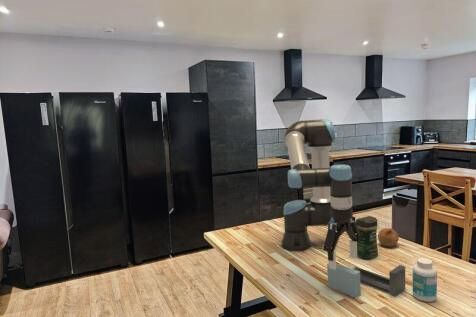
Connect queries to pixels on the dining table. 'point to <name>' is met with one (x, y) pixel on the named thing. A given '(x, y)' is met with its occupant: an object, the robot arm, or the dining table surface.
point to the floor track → (384, 280)
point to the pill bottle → (424, 280)
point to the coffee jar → (367, 237)
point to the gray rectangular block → (344, 280)
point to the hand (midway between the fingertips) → (343, 262)
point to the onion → (388, 237)
